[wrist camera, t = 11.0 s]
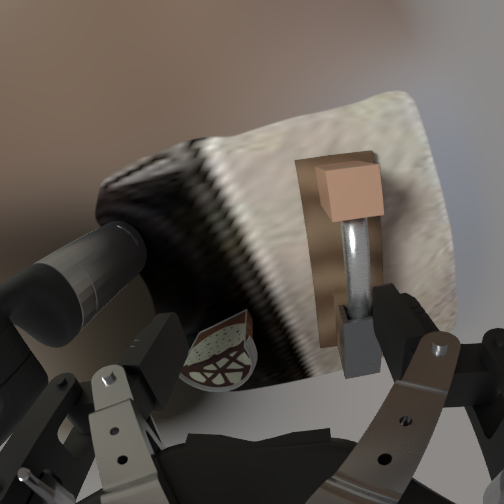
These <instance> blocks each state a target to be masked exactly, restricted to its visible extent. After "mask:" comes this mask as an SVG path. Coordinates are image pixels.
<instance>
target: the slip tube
mask: <svg viewBox="0 0 504 504" xmlns="http://www.w3.org/2000/svg"><path fill="white" fill-rule="evenodd" d="M340 225H341V234H342V244H343V254H344V266H345V279H346V293H347V312H348V320H353V319H358V318H364V317H369V316H371V267H370V248H369V234H368V222H367V217H365V218H358V219H352V220H345V221H340Z"/></svg>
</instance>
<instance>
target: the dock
mask: <svg viewBox="0 0 504 504" xmlns="http://www.w3.org/2000/svg"><path fill="white" fill-rule="evenodd" d="M348 161H362V162H368V163H374V159H373V152H372V151H363V152H354V153H345V154H337V155H329V156H322V157H315V158H308V159H301V160H295V165H296V171H297V176H298V182H299V188H300V194H301V200H302V206H303V212H304V219H305V225H306V232H307V239H308V246H309V253H310V261H311V268H312V276H313V284H314V292H315V301H316V310H317V319H318V329H319V339H320V348H325V347H331V346H338V349H339V353H340V357H341V348H340V327H339V310H338V306H340V305H343V307H344V310H345V313H346V316H347V319H348V312H347V293H346V279H345V266H344V254H343V244H342V234H341V225H340V221H338V222H332V221H331V219H330V218H329V216H328V215H327V213H326V212H325V210H324V209H323V207H322V206H321V202H320V195H319V189H318V182H317V176H316V170H315V166H318V165H325V164H333V163H340V162H348ZM367 222H368V234H369V248H370V267H371V300H373V287H374V286H378V285H383V263H382V240H381V224H380V215H379V216H372V217H367Z"/></svg>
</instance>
